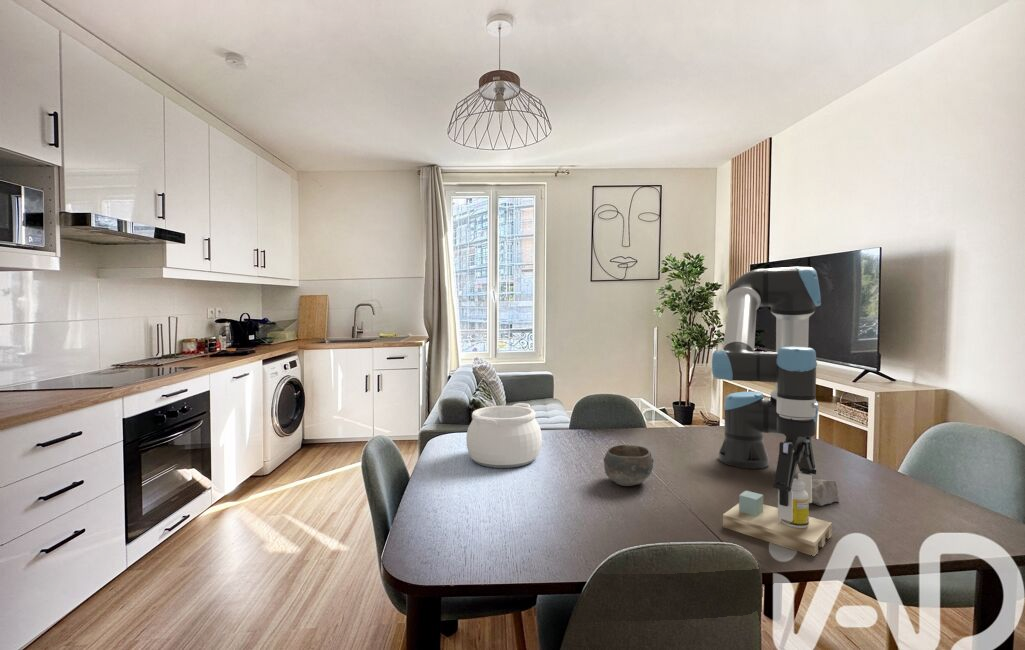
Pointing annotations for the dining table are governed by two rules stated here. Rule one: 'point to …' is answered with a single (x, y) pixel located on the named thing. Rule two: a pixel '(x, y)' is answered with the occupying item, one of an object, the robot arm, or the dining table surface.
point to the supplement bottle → (799, 505)
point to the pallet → (779, 529)
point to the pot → (504, 436)
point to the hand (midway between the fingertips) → (795, 510)
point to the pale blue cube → (751, 503)
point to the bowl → (628, 464)
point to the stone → (824, 492)
